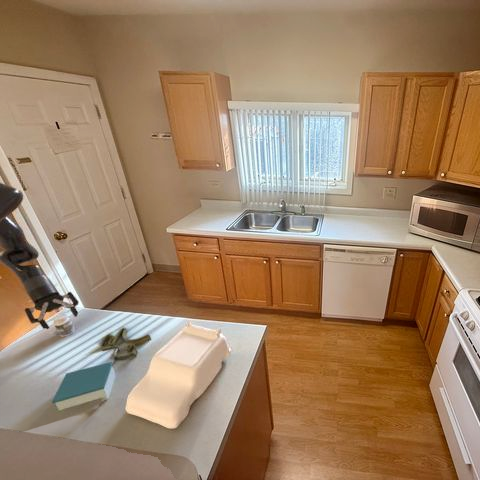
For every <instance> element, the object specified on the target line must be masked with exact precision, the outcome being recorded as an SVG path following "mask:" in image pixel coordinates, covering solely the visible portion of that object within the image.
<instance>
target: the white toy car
mask: <svg viewBox="0 0 480 480" xmlns="http://www.w3.org/2000/svg"><path fill="white" fill-rule="evenodd" d="M231 353H232V349H231V348H230V345H229V343H228V340H227V338H226V336H224V335H223V334H222V329H217V330H215V329H212V328H206V327H204V326H199V325H195V324H193V323H192V322H191V321H190V320H189V321H188V322H187V324H186V325H185V327H183V328H182V329H181V330H180V331H179V332H178V333H177V334H175V335H174V336H173V337H172V338H171V339H170V340H169V341H167V343H166V344H165V345H164V346H162V347H161V348H160V349H159V350H158V351H156V353H155V354H154V355H153V356H152V358H151V361H150V364H149V367H148V370H147V372H146V374H145V375H144V376H143V377H142V378H141V379H140V381H139V382H138V383H137V384H136V385H135V386H134V387H133V389H132V390H131V391H129V394H128V395H127V399H126V404H125V412H126V413H127V414H129V415H132V416H136V417H139V418H142V419H144V420H147V421H149V422H152V423H154V424H158V425H160V426H162V427H164V428H166V429H169V430H173V429H176V428H178V427H179V426H180V424H181V423H182V422H183V421H184V420H185V419H186V418H187V416H188V415H189V413H190V408H191V406H192V405H193V403H194V402H195V401H196V400H197V399H198V398H199V397H201V396H202V395H203V394H204V392H205V391H206V390H207V389H208V387H209V386H210V385H211V383H212V382H213V380H214V379H215V377H217V375H218V374H219V372H220V371H221V369H222V366H223V365H222V363H223V361H225V360H227V359H228V358H229V357H231V356H230V355H231Z"/></svg>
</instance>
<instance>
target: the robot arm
mask: <svg viewBox="0 0 480 480" xmlns="http://www.w3.org/2000/svg"><path fill="white" fill-rule="evenodd" d="M23 200H24V194H23V192H22V191H21V190H20V189H18V188H16V187H14V186H10V185H8V184H5V183H3V182H0V248H1V249H2V250H1V251H0V264H1V265H3V266H4V267H5V268H7V269H9V270H10V271H11V272H12V273H13V274H14V275H15V276H16V277H17V278H18V280H19V281H20V283H21V285H22V287H23V289H24V290H25V292H26V294H27V295H28V297H29V299H30V300H31V301H32V303H33V304H34V306H32V307H25V308H24V313H25V315H26V316H27V319H28V320H29V322H30V323H31V324H36V323H37V324H39V325H40V326H41V328H42V329H43V330H45V329H46V330H49V329H50V326H49V324H48V323H47V322H46V320H45V316H46V314H47V313H51V312H53V311H55V310H59V309H60V308H66V309H69V310H70V312H71V313H72V315H73V317H74V318H76V317H78V315H79V311H78V310H77V308H76V306H78V305H79V300H78V299H77V298H76V296H75V295H74V294H73V292H71V291H68V292H67V293H66V294H64V295H62V294H60V292H59V291H58V289H57V288H56V286H55V284H54V283H53V282H52V280H51V278H49V276H47V274H46V273H45V271H44V269H43V268H42V266H40V265H39V264H27V263H30V262H34V261H36V260H37V259H38V258H39V251H38V249H36V248H35V247H34V246H33V245H32V244H31V243H29V241H28V240H27V237H26V235H25V232H24V230H23V228H22V227H21V226H20V225H19V223H17V221H16V220H14V219H13V218H12V216H10V215H11V214H12V213H14V211H16V210H17V209H18V208H19V207H20V205H21V204H22V203H23ZM23 264H27V265H23ZM64 299H67V300H70V302H72V303H69V302H67V301H64ZM35 310H36V311H39V316H38V317H37V318H36V317H34V313H35Z"/></svg>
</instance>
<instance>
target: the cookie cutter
mask: <svg viewBox="0 0 480 480" xmlns="http://www.w3.org/2000/svg"><path fill="white" fill-rule="evenodd" d="M127 333H128V330H127V328H126V327H122V328H121V329H120V330H119V331H118V332H117V333H116V335H113V334H110V333H109V334H106V335H105V336H104V337H103V338H102V339H101V341H100V342H99V347H100V349H101V351H102V352H106V351H109V350H110V351H111V350H113V352H112V353H111V354H110V355H111V356H112V357H113V358H114V360H116V361H125V360H126V361H127V360H130V359H131V358H137V356H138V355H137V354H138V353H139V350H138V347H140V346H142V345H144V344H146V343H148V342H150V341H151V340H152V337H151V335H150V334H145V335H143V336H141V337H137V338H134V339H133V338H132V339H130V338H129V339H128V338H126V335H127ZM121 336H122V339H123V341H124V343H126V344H128V345H126V346H125V350H126V353H127V354H123V355H117V353H119V352H120V351H121V349H120V346H119V345H116V344H117V342H118V340H119V339H120V337H121ZM106 342H107V343H108V346H104V344H105V343H106ZM133 350H134V352H133Z"/></svg>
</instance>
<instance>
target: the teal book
mask: <svg viewBox="0 0 480 480" xmlns="http://www.w3.org/2000/svg"><path fill="white" fill-rule="evenodd" d="M113 364H114V362H113V361H110V362H109V361H108V362H106V363H102V364H98V365H94V366H90V367H86V368H81V369H78V370H75V371H71V372H70V371H69V372H66V373H65V375H64V377H63V379H62V381H61V383H60V385H59V387H58V389H57V390H56V393H55V394H54V396H53V399H52V400H51V403H52V404H55V406H56V407H57V409H58V410H59V411H62V410H65V409H68V408H72V407H75V406H79V405H82V404H85V403H89V402H91V401H95V400H99V403H101V402H104V401H107V400H109V397H110V396H111V391H112V389H113V386H114V383H115V379H116V377H117V374H116V372H115V369H114V367H113Z"/></svg>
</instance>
